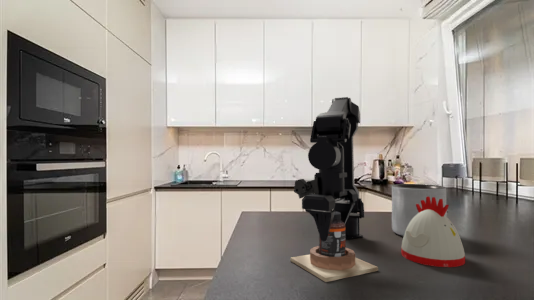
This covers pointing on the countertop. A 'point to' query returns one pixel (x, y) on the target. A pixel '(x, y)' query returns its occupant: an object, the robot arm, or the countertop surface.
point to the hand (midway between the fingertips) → (331, 236)
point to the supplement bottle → (334, 239)
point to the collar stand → (333, 265)
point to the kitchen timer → (432, 237)
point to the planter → (411, 202)
